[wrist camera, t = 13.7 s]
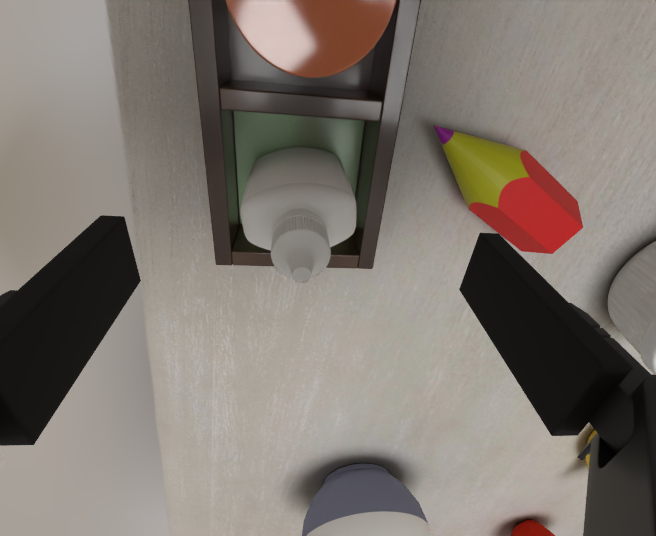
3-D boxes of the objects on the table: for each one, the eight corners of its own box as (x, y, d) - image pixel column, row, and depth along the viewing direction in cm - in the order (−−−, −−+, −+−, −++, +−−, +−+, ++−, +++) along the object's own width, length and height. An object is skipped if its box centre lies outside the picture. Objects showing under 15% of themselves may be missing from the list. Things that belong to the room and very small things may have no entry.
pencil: (450, 84, 22) (480, 93, 18) (558, 190, 26) (599, 213, 23) (398, 150, 23) (416, 169, 20) (507, 238, 28) (537, 266, 24)
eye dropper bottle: (270, 120, 21) (249, 192, 11) (351, 160, 23) (397, 255, 13) (245, 184, 23) (208, 294, 13) (321, 216, 25) (341, 336, 15)
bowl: (322, 440, 41) (329, 536, 33) (437, 456, 45) (468, 545, 37) (283, 504, 49) (281, 595, 41) (384, 513, 53) (400, 596, 45)
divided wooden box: (415, -120, 17) (451, -168, 13) (361, 236, 27) (372, 269, 23) (197, -154, 15) (164, -219, 12) (227, 231, 26) (215, 265, 22)
